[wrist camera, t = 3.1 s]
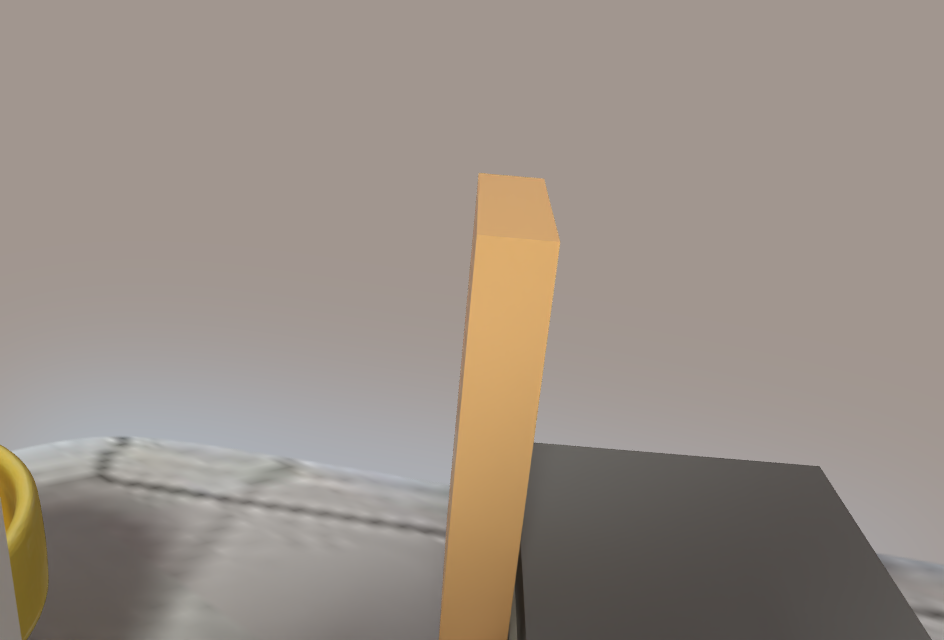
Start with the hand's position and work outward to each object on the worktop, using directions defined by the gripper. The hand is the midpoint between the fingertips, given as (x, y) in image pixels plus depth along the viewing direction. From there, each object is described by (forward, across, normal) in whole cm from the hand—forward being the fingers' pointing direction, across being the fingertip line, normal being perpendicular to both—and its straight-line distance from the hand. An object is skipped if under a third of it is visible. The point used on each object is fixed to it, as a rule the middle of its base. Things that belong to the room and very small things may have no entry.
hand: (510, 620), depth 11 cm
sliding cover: (+9, 0, -15) cm, 18 cm away
